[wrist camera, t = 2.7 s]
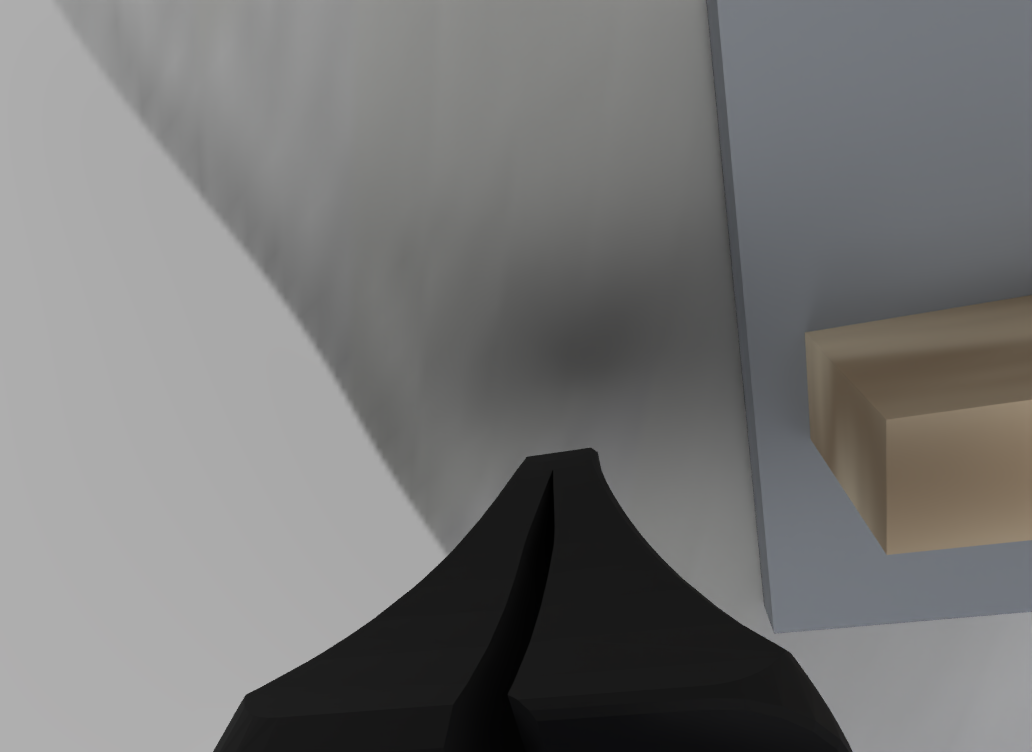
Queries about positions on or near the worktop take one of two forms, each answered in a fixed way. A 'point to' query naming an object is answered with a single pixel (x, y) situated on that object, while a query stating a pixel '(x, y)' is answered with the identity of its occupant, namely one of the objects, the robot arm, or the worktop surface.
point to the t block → (930, 423)
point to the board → (866, 257)
